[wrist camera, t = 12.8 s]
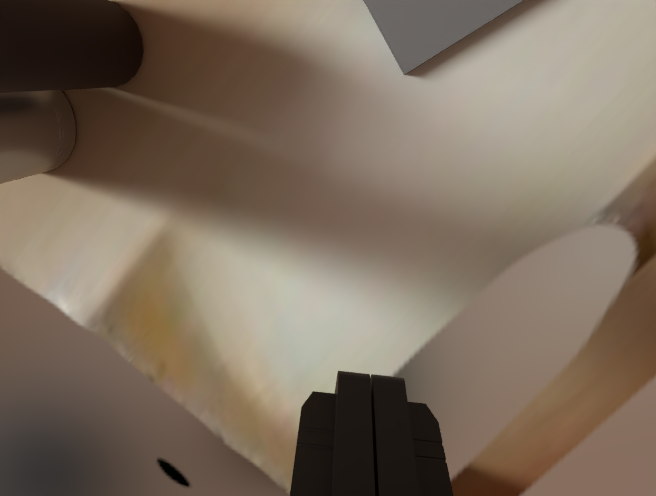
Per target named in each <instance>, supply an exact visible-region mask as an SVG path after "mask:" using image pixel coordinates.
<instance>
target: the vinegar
mask: <svg viewBox="0 0 656 496" xmlns="http://www.w3.org/2000/svg"><path fill="white" fill-rule="evenodd" d="M142 55H143V46H142V37H141V34H140V32H139V29H138V27H137V24H136V23H135V21H134V20H133V19H132V17H131V16H130V14H129V13H128V12H127V11H125V10H124V9H123V8H122V7H120V6H119V5H118V4H116V3H114V2H111V1H108V0H0V93H10V92H29V91H48V90H68V89H87V88H106V87H116V86H119V85H122V84H125V83H126V82H128V81H129V80H130V79H131V78H132V77H133V76H134V75H135V74H136V72H137V70H138V68H139V67H140V65H141V60H142Z"/></svg>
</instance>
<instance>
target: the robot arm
mask: <svg viewBox="0 0 656 496" xmlns="http://www.w3.org/2000/svg"><path fill="white" fill-rule="evenodd" d="M75 137H76V126H75V119H74V115H73V111H72V109H71V106H70V104H69V102H68V100H67V98H66V97H65V95H64V94H63V92H62V91H61V90H48V91H29V92H10V93H0V184H1V183H5V182H9V181H13V180H17V179H21V178H24V177H28V176H32V175H36V174H39V173H43V172H47V171H50V170H53V169H55V168H57V167H59V166H60V165H61V164H63V163H64V162H65V161H66V160H67V158H68V157H69V155H70V154H71V152H72V149H73V147H74V144H75ZM445 460H446V458H445V453H444V448H443V446H442V438H441V433H440V428H439V423H438V421H437V419H436V418H435V417H434V415H433V414H432V413H431V411H430V409H429V408H428V407H427V405H426V404H423V403H413V402H407V395H406V388H405V381H404V378H399V377H391V376H382V375H373V374H372V375H371V378H370V375H369V374H362V373H353V372H344V371H338V374H337V381H336V388H335V394H332V393H323V392H314V391H313V392H312V394H311V395H310V396H309V398H308V399H307V400H306V402H305V403H304V404H303V406H302V408H301V416H300V423H299V431H298V438H297V446H296V454H295V461H294V469H293V476H292V484H291V491H290V496H453V492H452V487H451V482H450V478H449V472H448V467H447V463H446V462H445Z"/></svg>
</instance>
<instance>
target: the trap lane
mask: <svg viewBox="0 0 656 496" xmlns="http://www.w3.org/2000/svg"><path fill="white" fill-rule="evenodd" d="M522 1H523V0H364V2H365V4H366V6H367V7H368V9H369V11H370V13H371V15H372V17H373V19H374V20H375V22H376V24H377V26H378V28H379V30H380V31H381V33H382V35H383V37H384V39H385V41H386V43H387V44H388V46H389V48H390V50H391V52H392V54H393V55H394V57H395V59H396V61H397V63H398V65H399V67H400V68H401V70H402V72H403V74H404V75H405V74H406V73H408V72H410V71H411V70H413V69H414V68H416V67H418V66H419V65H421V64H422V63H424V62H426V61H427V60H429V59H430V58H432V57H434V56H435V55H437V54H438V53H440V52H442V51H443V50H445V49H446V48H448V47H450V46H451V45H453V44H454V43H456V42H458V41H459V40H461V39H462V38H464V37H466V36H467V35H469V34H470V33H472V32H474V31H475V30H477V29H478V28H480V27H482V26H483V25H485V24H486V23H488V22H490V21H491V20H493V19H494V18H496V17H498V16H499V15H501V14H502V13H504V12H506V11H507V10H509V9H510V8H512V7H514V6H515V5H517V4H518V3H520V2H522Z"/></svg>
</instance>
